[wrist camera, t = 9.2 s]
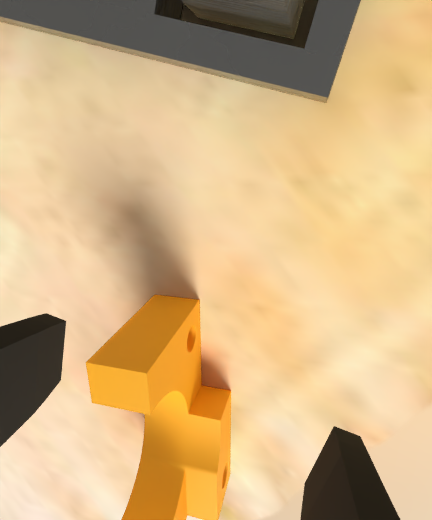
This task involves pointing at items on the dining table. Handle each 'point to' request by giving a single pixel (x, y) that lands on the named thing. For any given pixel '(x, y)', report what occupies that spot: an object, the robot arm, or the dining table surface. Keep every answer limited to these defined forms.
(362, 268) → the dining table surface
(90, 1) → the dark grey flat frame
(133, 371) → the pipe clamp
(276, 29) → the block
